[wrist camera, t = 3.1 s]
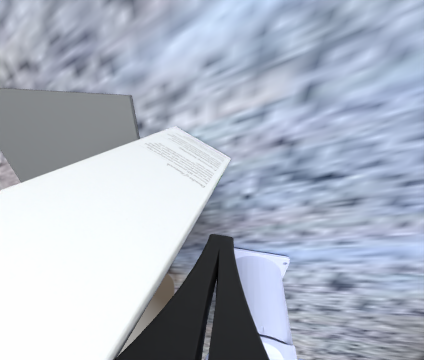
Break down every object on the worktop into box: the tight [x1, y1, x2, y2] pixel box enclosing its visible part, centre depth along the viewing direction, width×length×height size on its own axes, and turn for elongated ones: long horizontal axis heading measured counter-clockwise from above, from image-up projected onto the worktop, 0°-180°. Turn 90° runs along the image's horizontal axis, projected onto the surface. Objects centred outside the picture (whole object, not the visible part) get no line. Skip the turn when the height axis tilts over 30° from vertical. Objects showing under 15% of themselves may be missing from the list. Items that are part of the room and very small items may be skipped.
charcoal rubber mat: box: [0, 88, 140, 183], centre depth 21 cm, size 14×18×1 cm
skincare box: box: [0, 126, 231, 360], centre depth 12 cm, size 8×7×16 cm
